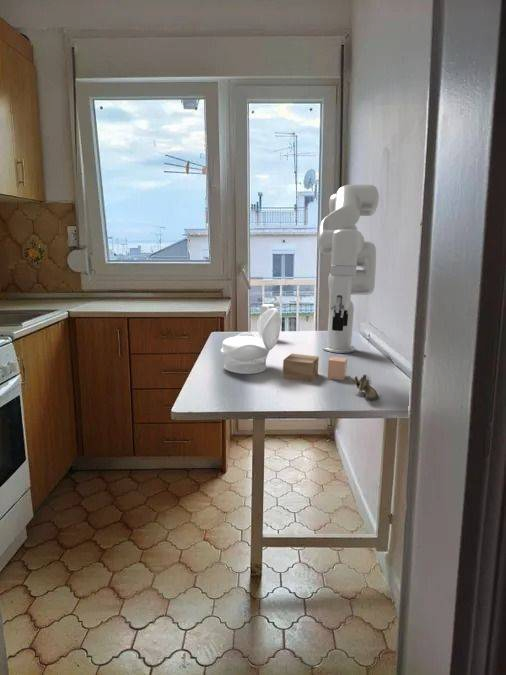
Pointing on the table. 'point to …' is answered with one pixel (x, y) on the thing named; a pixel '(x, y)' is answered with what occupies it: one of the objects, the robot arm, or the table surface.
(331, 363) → the peach block
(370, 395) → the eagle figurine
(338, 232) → the robot arm
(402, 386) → the table surface
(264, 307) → the white rounded tall piece
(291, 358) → the walnut block
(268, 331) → the white toilet model
